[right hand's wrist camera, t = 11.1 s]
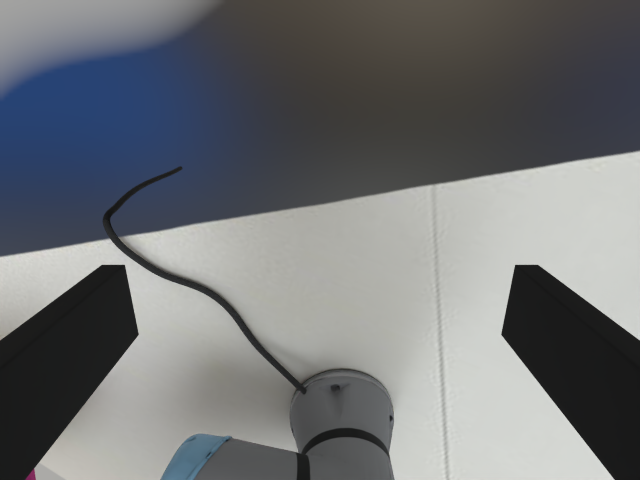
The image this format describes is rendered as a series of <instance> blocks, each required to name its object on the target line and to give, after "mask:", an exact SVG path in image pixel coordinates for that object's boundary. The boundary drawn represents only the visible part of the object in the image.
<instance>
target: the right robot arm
mask: <svg viewBox="0 0 640 480" xmlns="http://www.w3.org/2000/svg"><path fill="white" fill-rule="evenodd" d="M181 170H182V167H181V166H179V167H177V168H175V169H173V170H171V171H169V172H167V173H164V174H161V175H159V176H156V177H154V178H151V179H149V180H147V181H144V182H142V183H140V184H139V185H137V186H135V187H134V188H132V189H131V190H129V191H128V192H127V193H126V194H124V195H123V196H122V197H121V198H120V199H119V200H118V201H117V202H116V203H115V204H114V205H113V206H112V207H111V208H110V209H108V210H107V211H106V213H105V214H104V216H103V225H104V228H105V230H106V232H107V234H108V236H109V237H110V239H111V240H112V242H113V243H114V244H115V245H116V246H117V247H118V248H119V249H120V250H121V251H122V252H124V253H125V254H126V255H127V256H129V257H130V258H131V259H133V260H134V261H136V262H137V263H138V264H140V265H141V266H143V267H144V268H146V269H147V270H149V271H151V272H152V273H154V274H156V275H158V276H160V277H162V278H164V279H167V280H170V281H172V282H175V283H178V284H181V285H184V286H187V287H190V288H193V289H195V290H198V291H200V292H202V293H204V294H206V295H208V296H209V297H211V298H212V299H214V300H215V301H216V302H218V303H219V304H220V305H221V306H222V307H223V308H224V309H225V310H226V311H227V312H228V313H229V314H230V315H231V316H232V318H233V319H234V320H235V322H236V323H237V324H238V326H239V327H240V329H241V330H242V332H243V333H244V334H245V336H246V337H247V338H248V340H249V341H250V342H251V344H252V345H253V346H254V347H255V348H256V349H257V350H258V351H259V352H260V354H261V355H262V356H263V357H264V358H265V359H267V360H268V361H269V362H270V363H271V364H272V365H273V366H274V367H275V368H276V369H277V370H278V371H279V372H280V373H281V374H282V375H283V376H284V377H285V378H287V379H288V380H289V381H290V382H291V383H292V384H293V385H294V386H295V387H296V388H297V389H298V390H297V391H296V393H295V394H294V396H293V399H292V402H291V408H290V425H291V430H292V433H293V436H294V438H295V440H296V444H297V448H298V452H299V453H296V452H293V451H288V450H283V449H278V448H274V447H269V446H264V445H260V444H255V443H251V442H247V441H242V440H238V439H234V438H232V437H231V436H226V437H221V436H214V435H208V434H196V435H193V436H191V437H189V438H188V439H187V440H186V441H184V443H183V444H182V445H181V446H180V447H179V449H178V450H177V452H176V453H175V455H174V456H173V458H172V459H171V461H170V463H169V465H168V466H167V468H166V470H165V472H164V474H163V476H162V478H161V480H394V475H393V471H392V466H391V461H390V456H389V449H390V443H391V437H392V430H393V424H394V411H393V406H392V402H391V399H390V396H389V394H388V392H387V390H386V389H385V388H384V386H383V385H382V384H381V383H380V382H378V381H377V380H376V379H374V378H373V377H371V376H369V375H367V374H364V373H361V372H358V371H353V370H331V371H327V372H323V373H320V374H318V375H315V376H313V377H312V378H310V379H308V380H307V381H306V382H304V383H303V384H302V385H301V384H300V383H299V382H298V381H297V380H296V379H295V378H294V377H293V376H292V375H291V374H290V373H289V372H288V371H287V370H286V369H285V368H284V367H283V366H282V365H280V364H279V363H278V362H277V361H276V360H275V359H274V358H273V357H272V356H271V355H270V354H269V353H268V352H267V351H266V350H265V349H264V348H263V347H262V346H261V345H260V344H259V343H258V341H257V340H256V339H255V338H254V336H253V335H252V334H251V332H250V331H249V330H248V328H247V327H246V325H245V324H244V322H243V321H242V319H241V318H240V317H239V315H238V314H237V313H236V311H235V310H234V309H233V308H232V307H231V306H230V305H229V304H228V303H227V302H226V301H225V300H224V299H223V298H221V297H220V296H219V295H217V294H216V293H215V292H213V291H211V290H210V289H208V288H206V287H204V286H202V285H199V284H197V283H195V282H192V281H189V280H186V279H183V278H180V277H177V276H174V275H171V274H169V273H166V272H164V271H162V270H160V269H158V268H156V267H155V266H153V265H151V264H150V263H148V262H147V261H145V260H144V259H143V258H141V257H140V256H138V255H137V254H136V253H134V252H133V251H132V250H130V249H129V248H128V247H127V246H126V245H125V244H124V243H123V242H122V241H121V240H120V239H119V238H118V237H117V235H116V234H115V232H114V231H113V229H112V227H111V223H110V218H111V216H112V215H113V214H114V213H115V212H116V211H117V210H118V209H119V208H120V207H121V206H122V205H123V204H124V203H125V202H126V201H127V200H128V199H129V198H130V197H131V196H132V195H134V194H135V193H136V192H138V191H139V190H141V189H142V188H144V187H146V186H148V185H150V184H152V183H154V182H156V181H159V180H161V179H164V178H166V177H168V176H171V175H173V174H175V173H177V172H179V171H181ZM138 335H139V334H138V329H137V324H136V319H135V314H134V309H133V304H132V299H131V294H130V289H129V284H128V279H127V274H126V269H125V265H101V266H100V267H99V268H97V269H96V270H95V271H93V272H92V273H91V274H89V275H88V276H86V277H85V278H84V279H82V280H81V281H80V282H78V283H77V284H76V285H74V286H73V287H72V288H70V289H69V290H68V291H66V292H65V293H64V294H62V295H61V296H60V297H58V298H57V299H56V300H54V301H53V302H52V303H50V304H49V305H48V306H46V307H45V308H43V309H42V310H41V311H39V312H38V313H37V314H35V315H34V316H33V317H31V318H30V319H29V320H27V321H26V322H25V323H23V324H22V325H21V326H19V327H18V328H17V329H15V330H14V331H13V332H11V333H10V334H9V335H7V336H6V337H5V338H3V339H2V340H0V480H25V479H26V478H27V477H28V476H29V474H30V473H31V472H32V470H33V469H34V468H35V467H36V465H37V464H38V463H39V461H40V460H41V459H42V458H43V456H44V455H45V454H46V453H47V451H48V450H49V449H50V447H51V446H52V445H53V444H54V442H55V441H56V440H57V438H58V437H59V436H60V435H61V433H62V432H63V431H64V429H65V428H66V427H67V426H68V424H69V423H70V422H71V421H72V419H73V418H74V417H75V415H76V414H77V413H78V412H79V410H80V409H81V408H82V406H83V405H84V404H85V403H86V401H87V400H88V399H89V398H90V396H91V395H92V394H93V392H94V391H95V390H96V389H97V387H98V386H99V385H100V383H101V382H102V381H103V380H104V378H105V377H106V376H107V374H108V373H109V372H110V371H111V369H112V368H113V367H114V366H115V364H116V363H117V362H118V360H119V359H120V358H121V357H122V355H123V354H124V353H125V351H126V350H127V349H128V348H129V346H130V345H131V344H132V343H133V341H134V340H135V339H136V337H137V336H138ZM501 335H502V336H503V337H504V339H505V340H506V341H507V343H508V344H509V345H510V346H511V348H512V349H513V350H514V351H515V353H516V354H517V355H518V357H519V358H520V359H521V360H522V362H523V363H524V364H525V366H526V367H527V368H528V369H529V371H530V372H531V373H532V374H533V376H534V377H535V378H536V380H537V381H538V382H539V383H540V385H541V386H542V387H543V389H544V390H545V391H546V392H547V394H548V395H549V396H550V398H551V399H552V400H553V401H554V403H555V404H556V405H557V406H558V408H559V409H560V410H561V412H562V413H563V414H564V415H565V417H566V418H567V419H568V421H569V422H570V423H571V424H572V426H573V427H574V428H575V429H576V431H577V432H578V433H579V435H580V436H581V437H582V438H583V440H584V441H585V442H586V444H587V445H588V446H589V447H590V449H591V450H592V451H593V453H594V454H595V455H596V456H597V458H598V459H599V460H600V461H601V463H602V464H603V465H604V467H605V468H606V469H607V470H608V472H609V473H610V474H611V476H612V477H613V478H614V479H615V480H640V340H638V339H637V338H635V337H634V336H633V335H631V334H630V333H629V332H627V331H626V330H625V329H623V328H622V327H621V326H619V325H618V324H617V323H615V322H614V321H613V320H611V319H610V318H609V317H607V316H606V315H605V314H603V313H602V312H601V311H599V310H598V309H597V308H595V307H594V306H592V305H591V304H590V303H588V302H587V301H586V300H584V299H583V298H582V297H580V296H579V295H578V294H576V293H575V292H574V291H572V290H571V289H570V288H568V287H567V286H566V285H564V284H563V283H562V282H560V281H559V280H558V279H556V278H555V277H554V276H552V275H551V274H549V273H548V272H547V271H545V270H544V269H543V268H541V267H540V266H539V265H515V269H514V274H513V279H512V284H511V289H510V294H509V299H508V304H507V309H506V314H505V319H504V324H503V329H502V334H501Z"/></svg>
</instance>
